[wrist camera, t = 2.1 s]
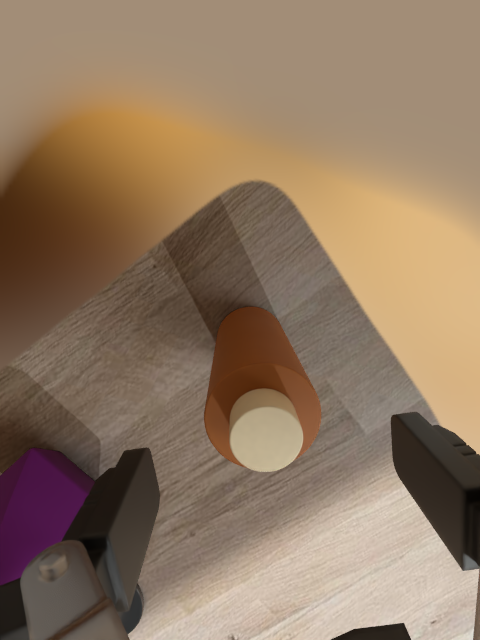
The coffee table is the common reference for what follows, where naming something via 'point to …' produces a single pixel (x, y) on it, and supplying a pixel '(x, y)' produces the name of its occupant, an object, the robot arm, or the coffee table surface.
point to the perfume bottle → (37, 506)
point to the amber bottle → (259, 394)
